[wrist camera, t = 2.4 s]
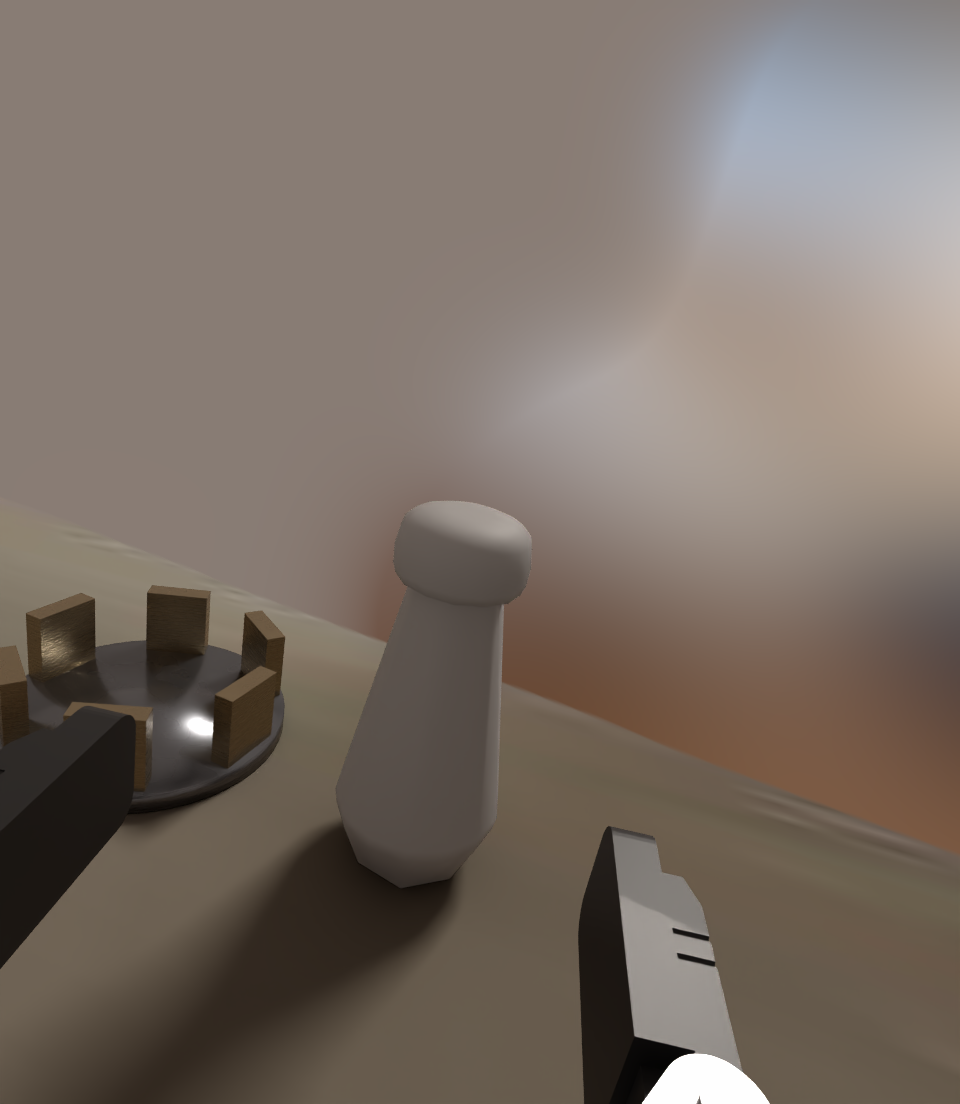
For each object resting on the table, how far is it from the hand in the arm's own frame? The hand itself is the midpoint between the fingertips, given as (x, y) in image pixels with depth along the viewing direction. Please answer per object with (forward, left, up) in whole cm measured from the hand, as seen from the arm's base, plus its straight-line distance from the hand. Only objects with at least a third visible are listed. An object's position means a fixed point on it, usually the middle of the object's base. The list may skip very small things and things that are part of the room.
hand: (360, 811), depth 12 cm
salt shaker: (-4, -11, -11) cm, 16 cm away
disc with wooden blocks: (+7, -18, -11) cm, 22 cm away
